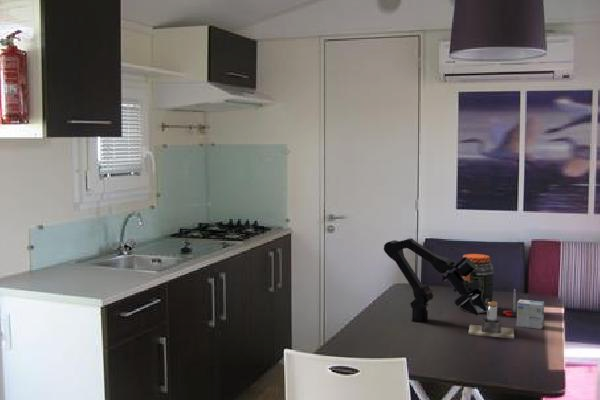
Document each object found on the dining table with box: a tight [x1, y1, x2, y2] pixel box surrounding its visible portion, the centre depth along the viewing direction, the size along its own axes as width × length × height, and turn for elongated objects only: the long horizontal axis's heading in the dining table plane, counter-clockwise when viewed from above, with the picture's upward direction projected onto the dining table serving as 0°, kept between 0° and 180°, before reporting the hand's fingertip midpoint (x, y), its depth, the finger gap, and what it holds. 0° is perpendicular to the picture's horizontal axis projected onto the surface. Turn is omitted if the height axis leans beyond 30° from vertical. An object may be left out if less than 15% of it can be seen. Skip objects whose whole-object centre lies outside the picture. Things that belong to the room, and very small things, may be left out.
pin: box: [486, 300, 498, 323], centre depth 291 cm, size 4×4×12 cm
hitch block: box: [468, 317, 515, 339], centre depth 291 cm, size 18×12×5 cm, turn 74°
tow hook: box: [502, 288, 517, 318], centre depth 321 cm, size 8×13×9 cm
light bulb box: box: [516, 299, 545, 330], centre depth 302 cm, size 11×7×11 cm, turn 65°
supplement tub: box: [458, 253, 494, 314], centre depth 329 cm, size 16×16×26 cm
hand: (482, 312), depth 293 cm, fingers open, 9 cm apart
